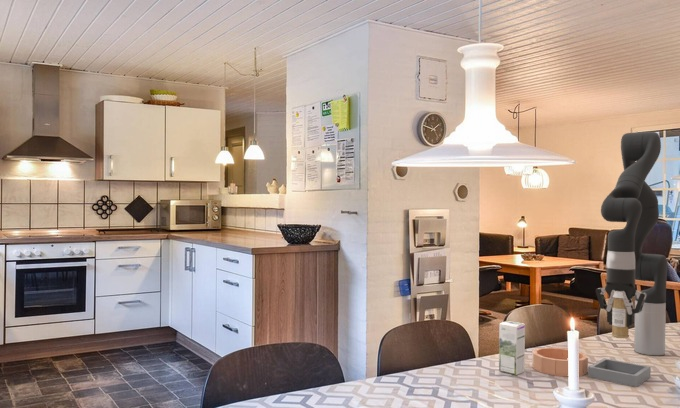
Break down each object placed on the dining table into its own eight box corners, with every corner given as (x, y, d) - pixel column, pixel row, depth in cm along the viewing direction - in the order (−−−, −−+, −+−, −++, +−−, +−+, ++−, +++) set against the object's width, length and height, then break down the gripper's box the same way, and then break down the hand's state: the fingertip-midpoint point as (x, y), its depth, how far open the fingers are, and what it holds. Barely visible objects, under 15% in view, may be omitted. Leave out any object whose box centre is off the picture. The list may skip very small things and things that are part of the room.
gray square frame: (604, 368, 180) (604, 358, 180) (650, 377, 171) (650, 366, 171) (588, 377, 170) (588, 366, 170) (636, 387, 162) (636, 376, 162)
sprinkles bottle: (632, 337, 170) (632, 290, 170) (623, 339, 168) (623, 292, 167) (617, 334, 174) (617, 288, 174) (608, 336, 171) (608, 290, 171)
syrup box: (525, 371, 175) (525, 322, 175) (516, 375, 171) (516, 325, 171) (507, 367, 179) (508, 320, 179) (498, 371, 175) (498, 322, 175)
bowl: (545, 359, 190) (545, 345, 190) (594, 368, 179) (594, 353, 179) (523, 368, 178) (524, 353, 178) (575, 379, 168) (575, 363, 168)
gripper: (651, 267, 168) (651, 327, 169) (599, 263, 178) (599, 319, 178) (643, 270, 163) (643, 331, 163) (590, 265, 173) (590, 324, 173)
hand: (620, 325), depth 171 cm, fingers closed on sprinkles bottle, 4 cm apart
